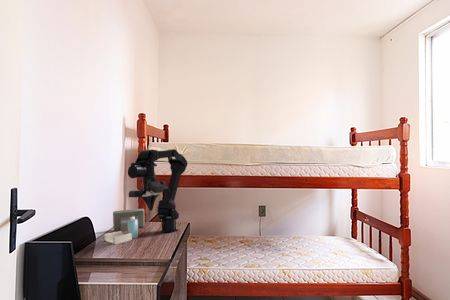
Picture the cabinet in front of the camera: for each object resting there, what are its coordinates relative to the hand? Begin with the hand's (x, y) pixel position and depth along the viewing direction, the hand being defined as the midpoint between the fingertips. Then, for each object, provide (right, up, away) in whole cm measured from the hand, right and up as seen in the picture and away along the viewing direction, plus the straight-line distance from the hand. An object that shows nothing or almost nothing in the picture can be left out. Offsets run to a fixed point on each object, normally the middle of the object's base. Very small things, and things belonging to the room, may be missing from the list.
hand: (150, 210), depth 142 cm
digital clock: (-17, -15, +22) cm, 31 cm away
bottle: (-9, -13, +4) cm, 17 cm away
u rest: (-15, -13, -2) cm, 20 cm away
